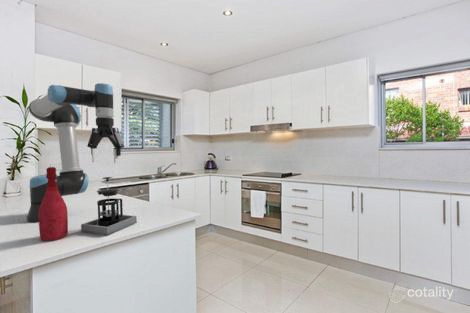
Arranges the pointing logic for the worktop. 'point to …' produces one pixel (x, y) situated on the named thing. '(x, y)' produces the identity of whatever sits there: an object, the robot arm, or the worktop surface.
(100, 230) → the tray
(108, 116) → the robot arm
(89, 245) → the worktop surface
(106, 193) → the french press
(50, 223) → the wine bottle
